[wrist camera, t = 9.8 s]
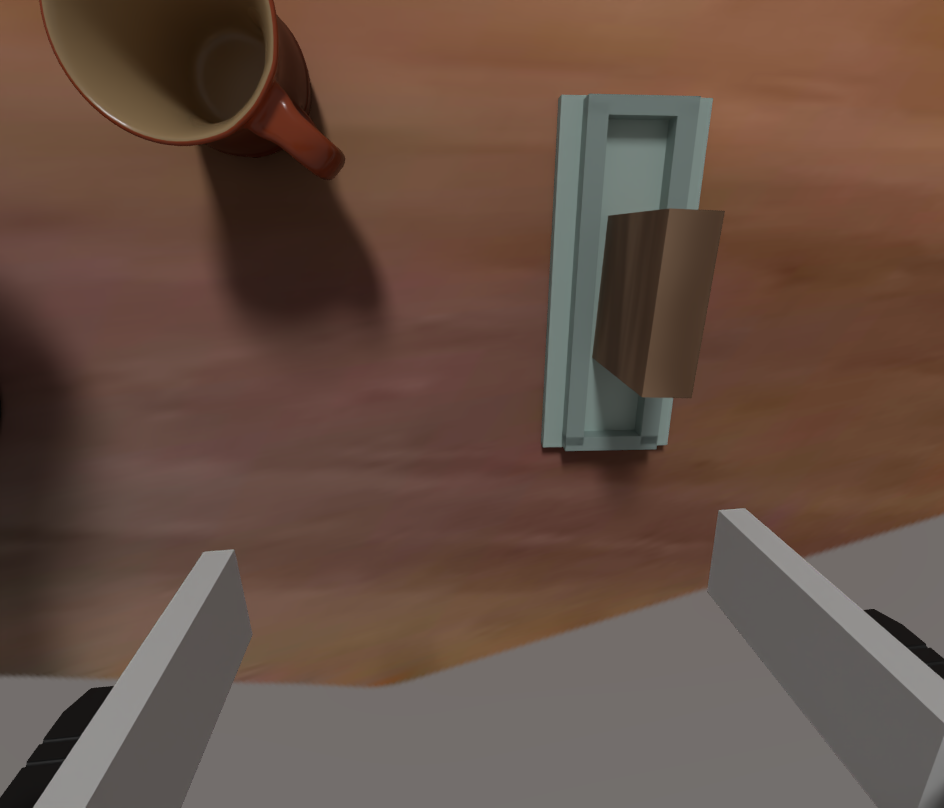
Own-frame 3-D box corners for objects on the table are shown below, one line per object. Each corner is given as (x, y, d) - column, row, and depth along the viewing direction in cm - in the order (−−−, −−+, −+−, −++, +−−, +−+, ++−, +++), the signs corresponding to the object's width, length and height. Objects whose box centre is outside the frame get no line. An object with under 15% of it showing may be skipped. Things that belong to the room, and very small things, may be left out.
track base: (541, 442, 37) (546, 454, 35) (558, 98, 31) (566, 89, 29) (662, 440, 38) (674, 451, 36) (706, 101, 31) (723, 92, 29)
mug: (141, 97, 29) (-7, 29, 20) (227, -42, 28) (112, -192, 18) (317, 242, 32) (264, 245, 22) (404, 125, 31) (388, 73, 21)
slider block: (592, 357, 35) (641, 397, 26) (608, 215, 32) (669, 208, 23) (629, 358, 35) (691, 398, 26) (648, 217, 32) (724, 210, 24)
